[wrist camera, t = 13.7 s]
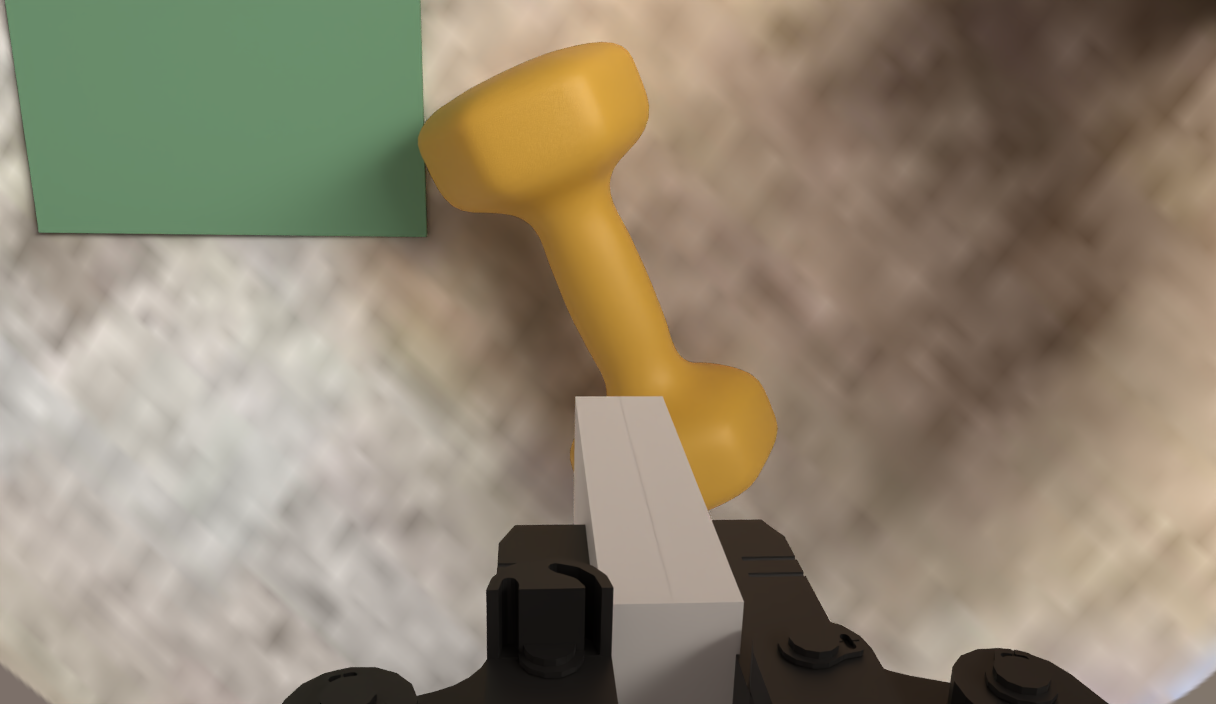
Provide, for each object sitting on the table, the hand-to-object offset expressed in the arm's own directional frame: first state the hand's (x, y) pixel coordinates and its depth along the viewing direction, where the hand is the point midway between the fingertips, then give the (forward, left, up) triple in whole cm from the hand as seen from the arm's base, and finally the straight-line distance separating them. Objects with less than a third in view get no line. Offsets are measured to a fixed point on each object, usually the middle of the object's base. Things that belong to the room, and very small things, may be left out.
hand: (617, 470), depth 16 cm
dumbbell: (-2, +2, -27) cm, 27 cm away
